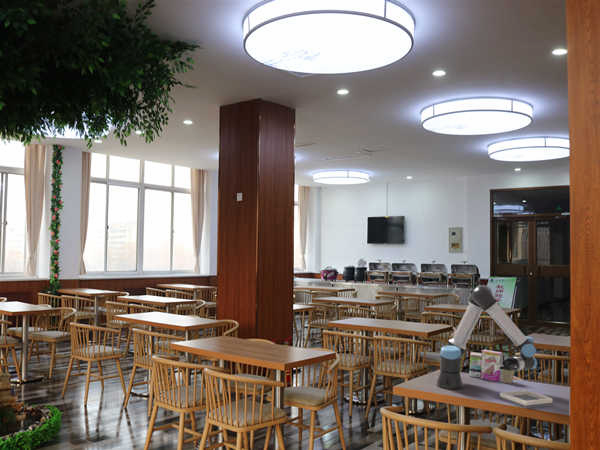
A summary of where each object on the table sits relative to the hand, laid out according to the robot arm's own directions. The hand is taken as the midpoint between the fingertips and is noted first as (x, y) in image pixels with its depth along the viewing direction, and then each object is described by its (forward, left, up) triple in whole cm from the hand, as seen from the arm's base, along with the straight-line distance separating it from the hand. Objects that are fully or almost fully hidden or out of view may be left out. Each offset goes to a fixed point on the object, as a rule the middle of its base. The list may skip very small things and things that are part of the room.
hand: (486, 365), depth 308 cm
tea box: (-36, +32, -17) cm, 51 cm away
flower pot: (-19, +37, -17) cm, 45 cm away
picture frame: (+18, +12, -17) cm, 27 cm away
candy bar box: (0, +4, -9) cm, 10 cm away
